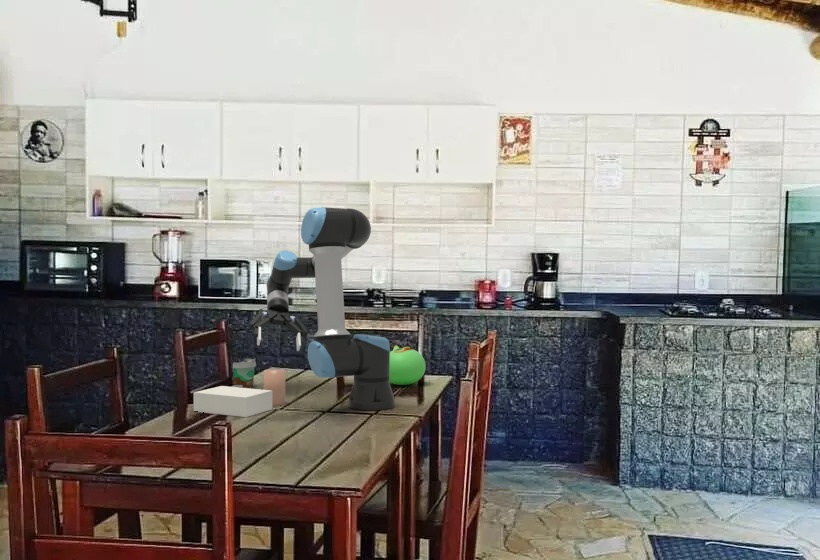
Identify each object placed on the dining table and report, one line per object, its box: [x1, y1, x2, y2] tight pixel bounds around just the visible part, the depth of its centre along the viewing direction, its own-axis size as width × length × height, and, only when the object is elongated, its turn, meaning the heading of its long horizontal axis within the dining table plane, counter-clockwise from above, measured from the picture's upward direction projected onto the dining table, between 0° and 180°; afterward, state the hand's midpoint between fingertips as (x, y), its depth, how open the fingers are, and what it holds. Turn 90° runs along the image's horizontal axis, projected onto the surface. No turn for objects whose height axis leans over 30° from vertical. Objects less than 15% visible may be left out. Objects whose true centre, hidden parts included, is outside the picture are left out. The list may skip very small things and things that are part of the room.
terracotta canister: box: [263, 368, 286, 407], centre depth 274 cm, size 7×7×11 cm
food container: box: [232, 358, 257, 389], centre depth 305 cm, size 12×6×10 cm, turn 168°
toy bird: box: [390, 345, 427, 386], centre depth 314 cm, size 18×17×15 cm
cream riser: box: [193, 385, 273, 418], centre depth 262 cm, size 20×14×6 cm
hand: (279, 345), depth 279 cm, fingers open, 13 cm apart
